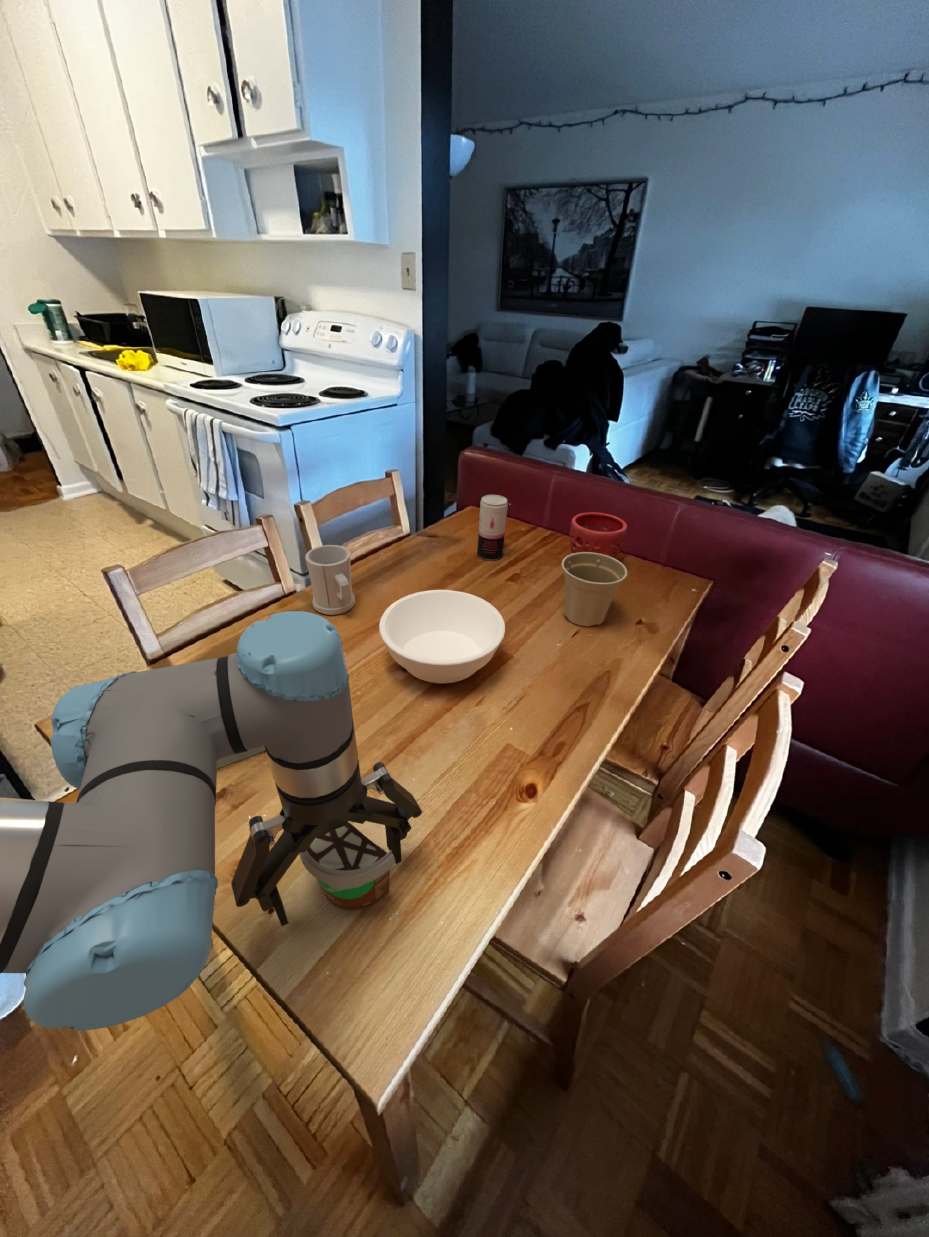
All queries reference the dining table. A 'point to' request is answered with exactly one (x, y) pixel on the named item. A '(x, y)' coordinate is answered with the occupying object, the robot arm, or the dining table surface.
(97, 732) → the robot arm
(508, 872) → the dining table surface
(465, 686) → the dining table surface
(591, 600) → the flower pot
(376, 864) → the food container
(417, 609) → the bowl
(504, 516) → the beverage can
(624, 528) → the flower pot
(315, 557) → the cup
